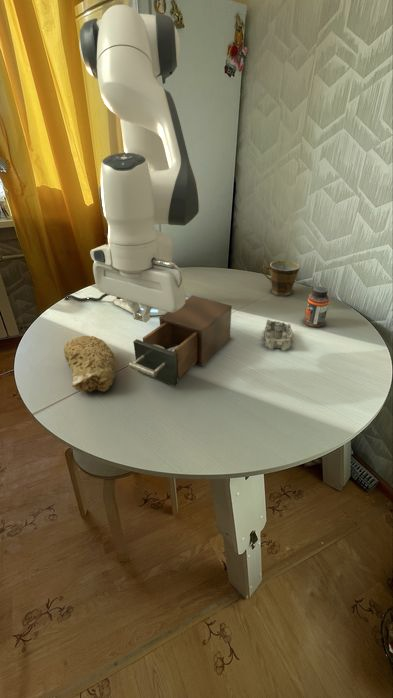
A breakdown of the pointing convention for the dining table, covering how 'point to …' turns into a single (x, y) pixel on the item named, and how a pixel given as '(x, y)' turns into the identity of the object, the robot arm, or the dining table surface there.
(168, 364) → the drawer
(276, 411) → the dining table surface
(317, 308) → the supplement bottle
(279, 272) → the ceramic cup
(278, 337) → the egg carton
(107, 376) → the sponge
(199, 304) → the cabinet
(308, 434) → the dining table surface
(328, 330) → the dining table surface
